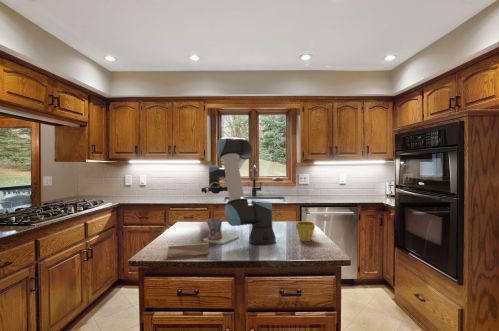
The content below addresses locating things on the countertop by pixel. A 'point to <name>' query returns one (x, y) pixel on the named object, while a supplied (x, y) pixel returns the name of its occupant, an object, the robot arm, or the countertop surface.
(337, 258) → the countertop surface
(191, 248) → the mug holder
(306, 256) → the countertop surface
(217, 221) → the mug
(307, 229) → the plant pot
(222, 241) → the board
